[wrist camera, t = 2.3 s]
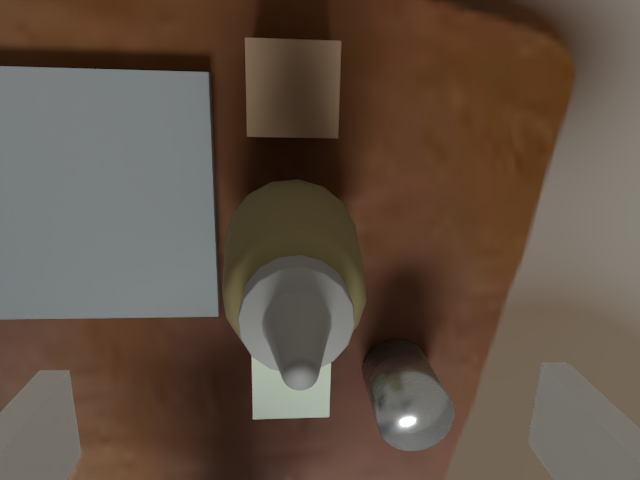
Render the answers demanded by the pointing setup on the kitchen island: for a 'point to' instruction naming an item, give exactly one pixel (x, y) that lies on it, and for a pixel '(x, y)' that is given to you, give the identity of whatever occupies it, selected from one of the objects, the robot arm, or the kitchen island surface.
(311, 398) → the sage block
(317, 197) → the squeeze bottle
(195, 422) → the kitchen island surface
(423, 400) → the grey metal cylinder
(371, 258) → the kitchen island surface
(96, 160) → the light grey rectangular plate
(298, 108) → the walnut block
